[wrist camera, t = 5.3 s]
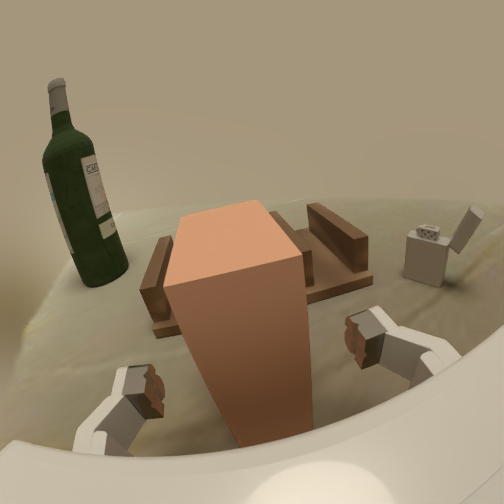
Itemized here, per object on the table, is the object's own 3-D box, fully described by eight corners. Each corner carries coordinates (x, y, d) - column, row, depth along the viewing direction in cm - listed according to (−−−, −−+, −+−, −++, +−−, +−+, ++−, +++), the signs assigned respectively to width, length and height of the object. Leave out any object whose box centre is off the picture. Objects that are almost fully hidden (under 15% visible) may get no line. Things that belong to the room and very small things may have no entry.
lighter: (402, 277, 23) (407, 196, 20) (408, 268, 24) (412, 191, 21) (467, 296, 18) (483, 210, 15) (469, 286, 19) (484, 205, 16)
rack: (317, 232, 36) (314, 200, 34) (372, 284, 23) (374, 239, 21) (170, 266, 34) (160, 235, 33) (156, 338, 22) (136, 296, 20)
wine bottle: (136, 268, 36) (86, 64, 23) (89, 294, 31) (31, 79, 19) (120, 257, 41) (77, 84, 29) (80, 277, 37) (31, 98, 24)
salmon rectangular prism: (282, 350, 19) (257, 199, 14) (312, 431, 12) (302, 254, 8) (228, 363, 18) (181, 216, 14) (241, 448, 12) (163, 287, 7)
